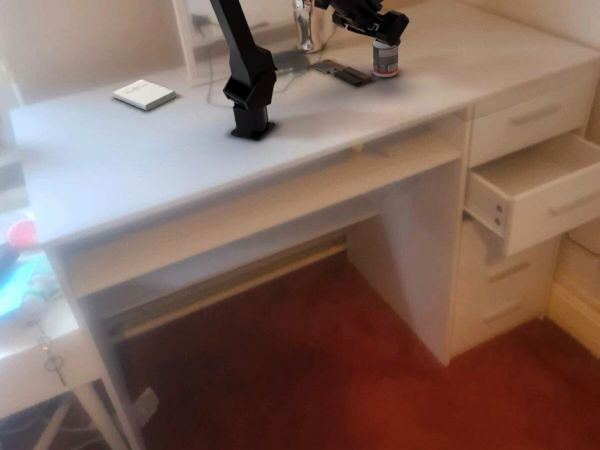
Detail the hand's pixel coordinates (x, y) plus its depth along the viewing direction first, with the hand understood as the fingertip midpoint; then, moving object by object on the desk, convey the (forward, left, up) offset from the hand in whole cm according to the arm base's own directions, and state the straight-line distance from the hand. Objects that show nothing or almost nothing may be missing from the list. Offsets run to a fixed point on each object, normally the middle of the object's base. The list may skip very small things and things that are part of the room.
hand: (390, 40), depth 128 cm
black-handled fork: (-5, +11, -7) cm, 14 cm away
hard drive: (-29, +46, -7) cm, 55 cm away
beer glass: (+7, +24, -7) cm, 26 cm away
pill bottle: (-1, +1, -7) cm, 7 cm away
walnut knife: (-3, +10, -7) cm, 12 cm away
